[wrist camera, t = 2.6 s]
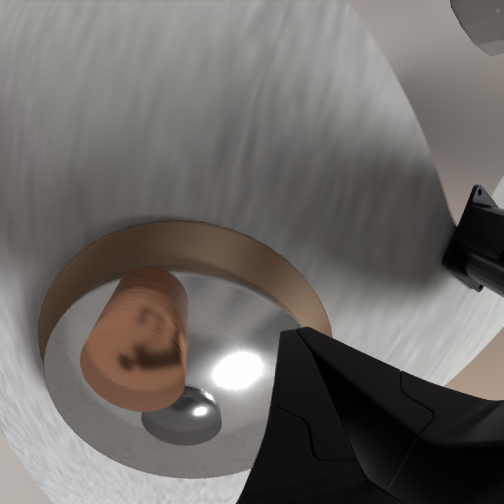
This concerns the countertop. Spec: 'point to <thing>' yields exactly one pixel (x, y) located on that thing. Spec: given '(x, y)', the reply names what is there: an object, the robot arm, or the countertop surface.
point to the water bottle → (482, 23)
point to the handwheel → (169, 369)
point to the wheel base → (182, 253)
